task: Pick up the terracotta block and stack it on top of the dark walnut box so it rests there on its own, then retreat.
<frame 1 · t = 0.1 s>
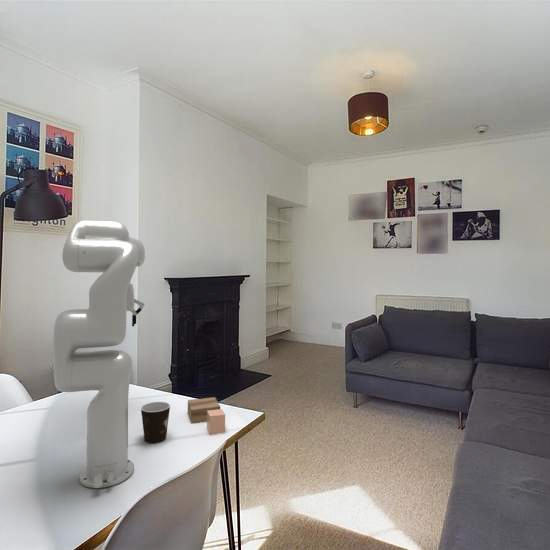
hand: (119, 326, 136), 31 cm above the table, fingers open, 9 cm apart
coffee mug: (151, 441, 113), on the table
walnut box: (203, 417, 132), on the table
terracotta cube: (215, 430, 120), on the table
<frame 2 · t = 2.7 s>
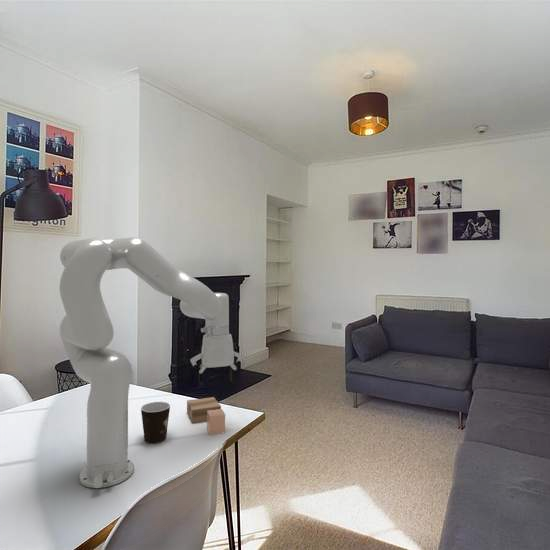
hand: (217, 382, 120), 16 cm above the table, fingers open, 9 cm apart
nothing on the table moved.
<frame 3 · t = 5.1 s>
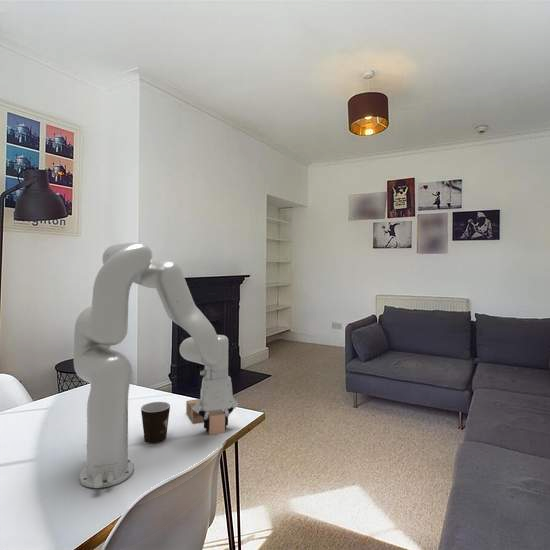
hand: (215, 428, 120), 1 cm above the table, fingers closed on terracotta cube, 5 cm apart
terracotta cube: (215, 430, 120), on the table, touching gripper
everything else where it was.
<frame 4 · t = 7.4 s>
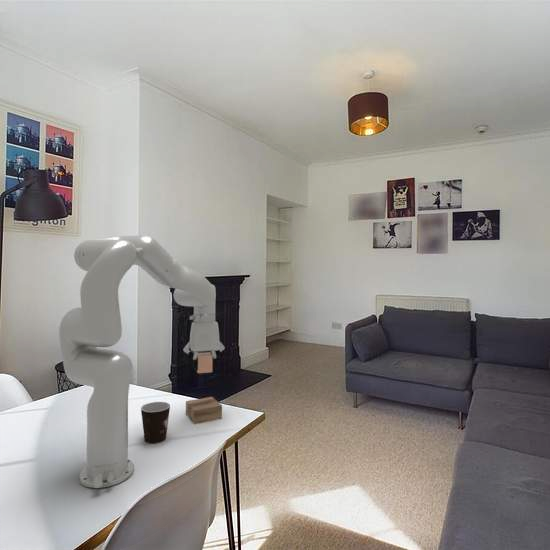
hand: (204, 368, 132), 17 cm above the table, fingers closed on terracotta cube, 5 cm apart
terracotta cube: (204, 370, 132), point 16 cm above the table, touching gripper
everything else where it was.
when the fingers open (7 cm above the table, at t = 9.9 s): terracotta cube drops 2 cm, resting on walnut box.
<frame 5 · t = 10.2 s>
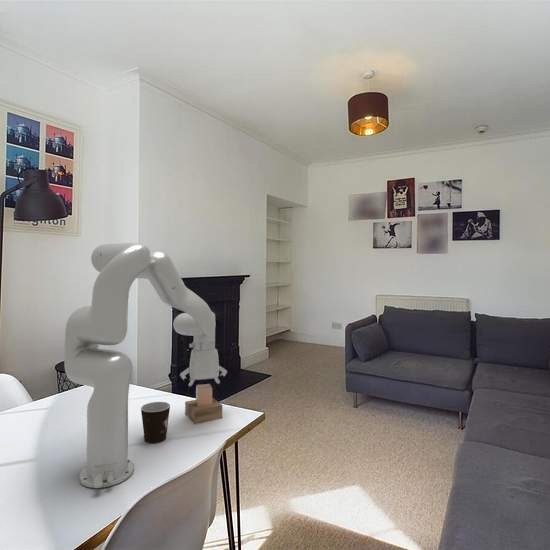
hand: (203, 394, 132), 8 cm above the table, fingers open, 8 cm apart
walnut box: (203, 417, 132), on the table, touching terracotta cube
terracotta cube: (203, 403, 132), point 5 cm above the table, touching walnut box
everything else where it was.
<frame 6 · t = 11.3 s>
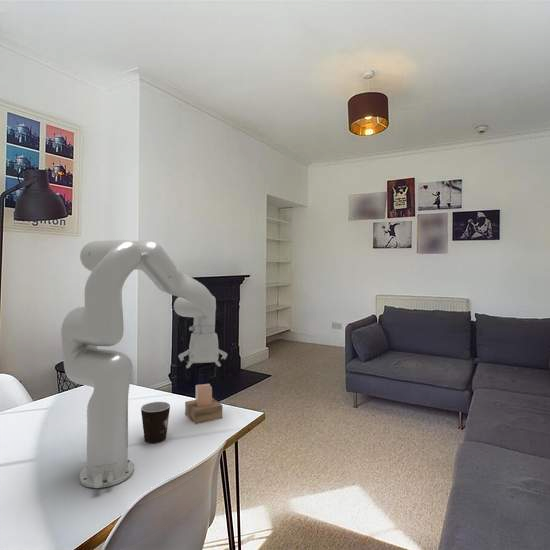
hand: (202, 377, 131), 14 cm above the table, fingers open, 9 cm apart
walnut box: (203, 417, 132), on the table
terracotta cube: (203, 403, 132), point 5 cm above the table
everything else where it was.
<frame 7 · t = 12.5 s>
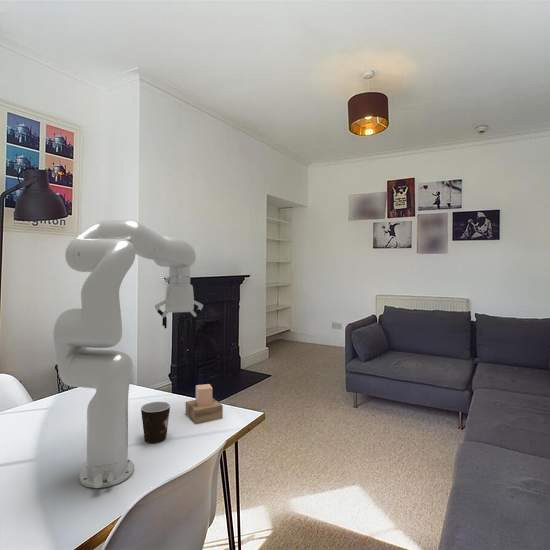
hand: (179, 327, 135), 31 cm above the table, fingers open, 9 cm apart
walnut box: (203, 417, 132), on the table, touching terracotta cube
terracotta cube: (203, 403, 132), point 5 cm above the table, touching walnut box
everything else where it was.
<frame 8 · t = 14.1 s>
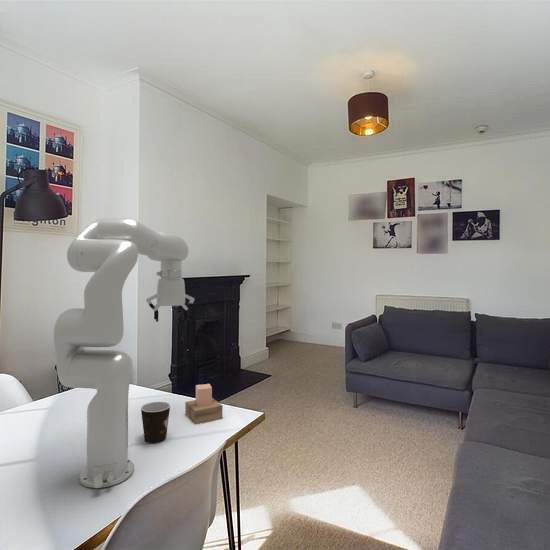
hand: (170, 320, 137), 33 cm above the table, fingers open, 9 cm apart
nothing on the table moved.
at the end: terracotta cube inside the target area on the walnut box (0.6 cm from its centre), point 5.0 cm above the walnut box's base; terracotta cube tilted 0°; the gripper is holding nothing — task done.
